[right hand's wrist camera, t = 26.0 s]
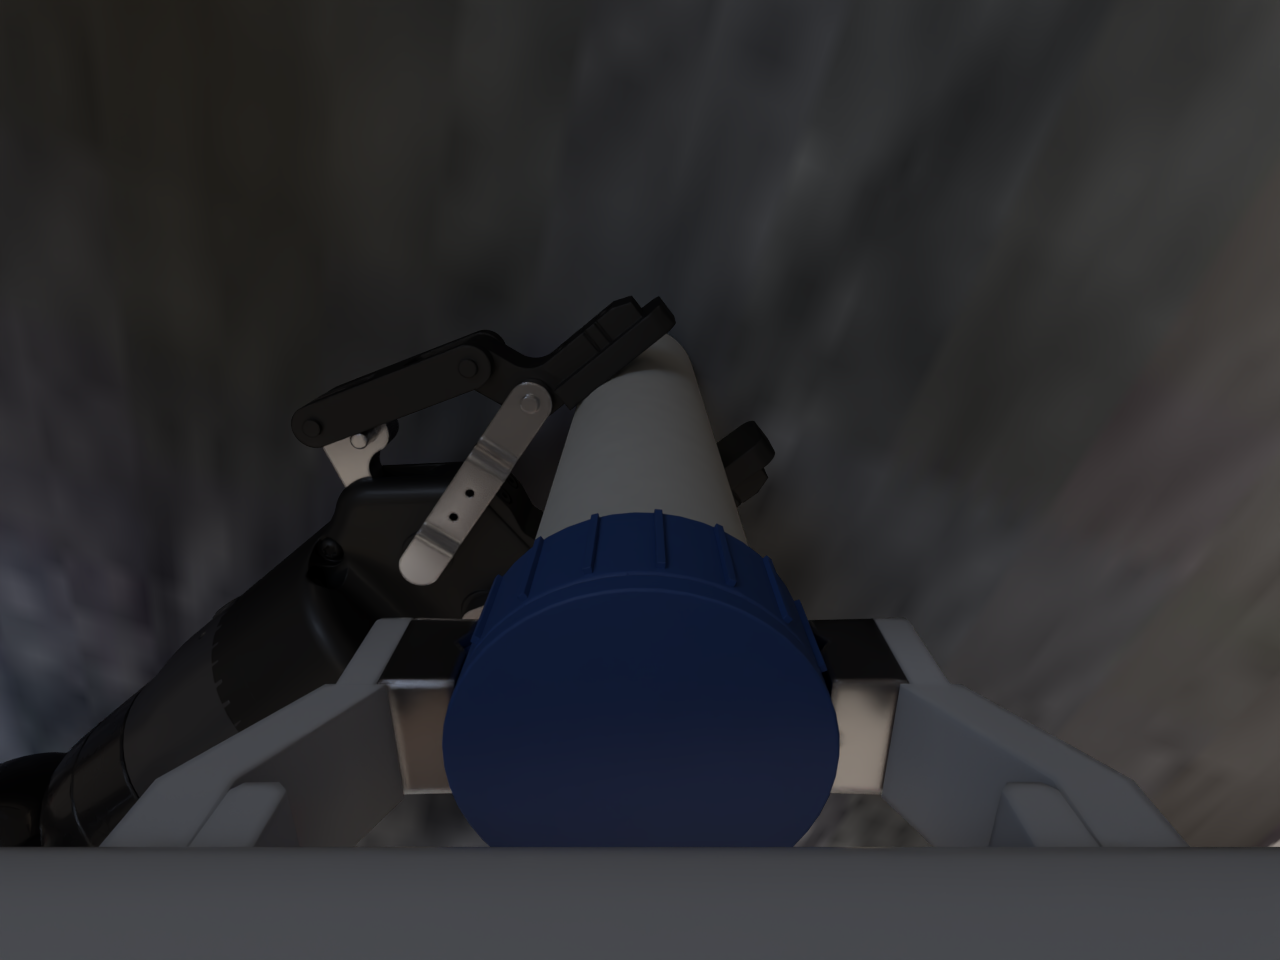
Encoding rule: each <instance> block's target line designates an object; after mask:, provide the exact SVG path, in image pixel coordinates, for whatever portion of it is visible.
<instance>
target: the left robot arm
mask: <svg viewBox="0 0 1280 960" xmlns="http://www.w3.org/2000/svg"><path fill="white" fill-rule="evenodd" d="M675 324H676V321H675V318H674V315H673V314H672V313H671V311H670V310H669V309H668V307H667V306H666V305H665V303H664V302H663V301H662V300H661V298H660V297H656V298H655V299H653V300H652V301H650V302H649V303H648V304H647V305H645V306H644V307H643V308H641V307H640V306H639V304H638V303H637V302H636V301H635V299H634V298H633V297H632V296H629V297H626V298H622V299H619V300H616V301H613V302H612V303H611V304H610V305H609V306H607V307H606V308H605V309H604V310H602V311H601V312H600V313H599V314H598V315H596V316H595V317H594V318H593V319H592V320H590V321H589V322H588V323H587V324H586V325H584V326H583V327H582V328H581V329H580V330H578V331H577V332H576V333H575V334H573V335H572V336H571V337H570V338H569V339H567V340H566V341H565V342H564V343H563V344H561V345H560V346H559V347H558V348H557V349H555V350H554V351H553V352H552V353H550V354H549V355H547V356H544V357H540V358H532V357H527V356H524V355H522V354H521V353H519V352H517V351H515V350H514V349H512V348H510V347H509V346H507V345H505V342H504V340H503V339H502V338H501V337H500V336H499V335H498V334H497V333H495V332H493V331H490V330H481V331H477V332H475V333H472V334H470V335H467V336H465V337H462V338H459V339H457V340H454V341H452V342H449V343H447V344H444V345H442V346H439V347H436V348H434V349H431V350H429V351H426V352H424V353H421V354H418V355H416V356H413V357H411V358H408V359H406V360H403V361H401V362H398V363H395V364H393V365H390V366H388V367H385V368H383V369H380V370H378V371H375V372H372V373H370V374H367V375H365V376H362V377H360V378H357V379H354V380H352V381H349V382H347V383H344V384H342V385H339V386H337V387H335V388H333V389H331V390H330V391H328V392H326V393H325V394H323V395H321V396H319V397H318V398H316V399H315V400H313V401H311V402H310V403H308V404H307V405H305V406H303V407H302V408H300V409H299V410H297V411H296V412H295V413H294V415H293V417H292V420H291V427H292V431H293V433H294V435H295V436H296V438H297V439H298V440H299V441H300V442H301V443H303V444H305V445H306V446H309V447H313V448H321V447H323V449H324V451H325V453H326V454H327V456H328V458H329V460H330V461H331V463H332V465H333V467H334V468H335V470H336V472H337V474H338V475H339V477H340V479H341V481H342V482H343V484H344V486H345V489H344V490H343V492H342V493H341V495H340V496H339V499H338V501H337V505H336V509H335V513H334V515H333V517H332V519H331V521H330V522H329V523H327V524H326V525H325V526H324V527H323V528H322V529H320V530H319V531H318V532H317V533H316V534H314V535H313V536H312V537H311V538H310V539H308V540H307V541H306V542H305V543H304V544H302V545H301V546H300V547H299V548H298V549H296V550H295V551H294V552H293V553H292V554H290V555H289V556H288V557H287V558H286V559H284V560H283V561H282V562H281V563H280V564H279V565H277V566H276V567H275V568H274V569H273V570H271V571H270V572H269V573H268V574H267V575H265V576H264V577H263V578H262V579H260V580H259V581H258V582H257V583H256V584H254V585H253V586H252V587H251V588H250V589H249V590H247V591H246V592H245V593H244V594H243V595H241V596H240V597H238V598H236V599H234V600H232V601H231V602H229V603H228V604H226V605H225V606H223V607H222V608H221V609H219V610H218V611H217V612H216V615H215V616H214V617H213V619H212V620H211V621H210V622H209V623H208V624H207V625H205V626H204V627H203V628H202V629H200V630H199V631H198V632H197V633H196V634H194V635H193V636H192V637H191V638H190V639H189V640H188V641H187V642H186V643H185V644H183V645H182V647H181V648H180V649H179V650H178V651H177V652H176V653H175V654H174V655H173V656H172V657H171V658H170V659H169V661H168V662H167V663H166V664H165V665H164V667H163V668H162V669H161V670H160V671H159V673H158V674H157V675H156V676H155V677H154V678H153V679H152V680H151V681H150V682H148V683H147V684H146V685H145V686H144V687H142V688H141V689H140V690H139V691H138V692H136V693H135V694H134V695H133V696H131V697H130V698H129V699H128V700H127V701H125V702H124V703H123V704H122V705H121V706H119V707H118V708H117V709H116V710H115V711H113V712H112V713H111V714H110V715H109V716H107V717H106V718H105V719H104V720H103V721H102V722H100V723H99V724H98V725H97V726H96V727H95V728H93V729H92V730H91V731H90V732H89V733H87V734H86V735H85V736H84V737H83V738H82V739H80V740H79V741H78V742H77V743H76V744H75V745H74V746H73V747H72V749H71V750H70V751H69V752H68V753H61V752H49V753H39V754H33V755H27V756H23V757H19V758H16V759H12V760H10V761H7V762H4V763H1V764H0V847H99V846H100V845H101V843H102V842H103V841H104V840H105V839H106V838H107V836H108V835H109V834H110V833H111V832H112V830H113V829H114V828H115V827H116V826H117V824H118V823H119V822H120V821H121V820H122V819H123V817H124V816H125V815H126V814H127V813H128V811H129V810H130V809H131V808H132V807H133V806H134V804H135V803H136V802H137V801H138V800H139V798H140V797H141V796H142V795H143V794H144V792H145V791H146V790H147V789H148V788H149V787H150V785H151V784H152V783H153V782H154V781H155V779H157V778H159V777H161V776H162V775H164V774H166V773H168V772H170V771H171V770H173V769H175V768H177V767H178V766H180V765H182V764H184V763H186V762H187V761H189V760H191V759H193V758H194V757H196V756H198V755H200V754H202V753H203V752H205V751H207V750H209V749H211V748H212V747H214V746H216V745H218V744H219V743H221V742H223V741H225V740H227V739H228V738H230V737H232V736H234V735H235V734H237V733H239V732H241V731H243V730H244V729H246V728H248V727H250V726H251V725H253V724H255V723H257V722H259V721H260V720H262V719H264V718H266V717H268V716H269V715H271V714H273V713H275V712H276V711H278V710H280V709H282V708H284V707H285V706H287V705H289V704H291V703H292V702H294V701H296V700H298V699H300V698H301V697H303V696H305V695H307V694H309V693H310V692H312V691H314V690H316V689H317V688H319V687H321V686H323V685H325V684H336V683H337V681H338V680H339V678H340V676H341V675H342V673H343V672H344V670H345V669H346V667H347V665H348V664H349V662H350V661H351V659H352V658H353V656H354V654H355V653H356V651H357V650H358V648H359V647H360V645H361V643H362V642H363V640H364V639H365V637H366V636H367V634H368V632H369V631H370V629H371V628H372V626H373V625H374V623H375V622H376V621H377V620H379V619H381V618H414V619H415V618H441V619H479V617H480V615H481V612H482V610H483V607H484V605H485V602H486V599H487V597H488V594H489V592H490V589H491V587H492V584H493V582H494V579H495V578H496V576H497V575H498V574H499V575H501V576H502V577H503V576H504V575H505V573H506V572H507V571H508V570H509V569H510V567H511V566H512V565H513V564H514V563H515V562H516V561H517V560H518V559H519V558H520V557H521V556H523V555H524V554H525V553H526V552H527V551H528V550H529V549H530V548H532V547H533V545H534V541H535V538H536V535H537V532H538V529H539V526H540V522H541V519H542V516H543V513H544V512H542V511H541V510H539V509H538V508H536V507H535V506H533V505H532V503H531V501H530V500H529V498H528V496H527V494H526V492H525V490H524V488H523V487H522V485H521V483H520V482H519V481H518V480H517V479H516V478H515V477H514V476H513V475H512V474H511V471H512V469H513V467H514V466H515V464H516V462H517V461H518V459H519V458H520V457H521V455H522V454H523V452H524V451H525V449H526V448H527V446H528V445H529V444H530V442H531V441H532V439H533V438H534V436H535V435H536V434H537V432H538V431H539V429H540V428H541V426H542V425H543V423H544V422H545V421H546V419H547V418H548V417H549V416H550V415H551V414H552V413H554V412H555V411H556V410H557V409H559V408H560V407H561V406H562V405H564V404H565V405H566V406H567V407H568V408H569V409H570V410H571V409H572V408H574V407H575V406H576V405H577V404H579V403H580V402H581V401H582V400H584V399H585V398H586V397H588V396H589V395H590V394H591V393H592V392H593V391H594V390H596V389H597V388H598V387H600V386H601V385H603V384H604V383H605V382H606V381H608V380H609V379H610V378H611V377H613V376H614V375H615V374H616V373H618V372H619V371H620V370H621V369H623V368H624V367H625V366H626V365H628V364H629V363H630V362H631V361H633V360H634V359H635V358H636V357H638V356H639V355H640V354H641V353H643V352H644V351H645V350H646V349H648V348H649V347H650V346H652V345H653V344H654V343H655V342H657V341H658V340H659V339H660V338H662V337H663V336H664V335H665V334H666V333H667V332H669V331H670V330H671V329H672V328H673V326H674V325H675ZM472 390H476V391H478V392H479V393H481V394H483V395H485V396H486V397H488V398H490V399H492V400H493V401H495V402H497V403H499V404H501V405H502V406H501V408H500V409H499V411H498V412H497V414H496V415H495V417H494V418H493V420H492V421H491V423H490V424H489V426H488V427H487V429H486V430H485V432H484V433H483V435H482V436H481V438H480V439H479V441H478V442H477V444H476V445H475V447H474V448H473V450H472V451H471V453H470V454H469V456H468V457H467V459H466V460H465V462H448V463H426V464H403V465H381V462H380V451H381V450H382V449H383V448H384V447H385V446H386V445H387V444H388V443H389V442H390V441H391V440H392V439H394V438H395V436H396V435H397V433H398V430H399V423H398V420H397V419H398V418H401V417H403V416H406V415H409V414H411V413H414V412H417V411H419V410H422V409H425V408H427V407H430V406H432V405H435V404H438V403H440V402H443V401H446V400H448V399H451V398H454V397H456V396H459V395H461V394H464V393H467V392H469V391H472ZM717 447H718V450H719V454H720V457H721V460H722V463H723V466H724V470H725V473H726V476H727V479H728V482H729V485H730V489H731V492H732V495H733V498H734V501H735V505H736V507H738V506H739V505H740V504H741V503H742V502H745V501H746V500H748V499H749V498H751V497H752V496H753V495H755V494H756V493H758V492H759V490H760V489H761V487H762V486H763V484H764V483H765V481H766V480H767V478H768V476H767V474H766V472H765V470H764V467H765V466H766V465H767V464H768V463H769V462H770V461H771V460H772V459H773V457H774V455H775V451H774V449H773V447H772V446H771V444H770V442H769V440H768V438H767V437H766V436H765V434H764V433H763V432H762V430H761V429H760V428H759V427H758V425H757V424H756V423H755V421H749V422H746V423H745V424H743V425H741V426H740V427H738V428H737V429H736V430H734V431H733V432H732V433H730V434H729V435H727V436H726V437H725V438H723V439H722V440H721V441H719V442H718V443H717Z"/></svg>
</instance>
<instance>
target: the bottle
mask: <svg viewBox="0 0 1280 960" xmlns="http://www.w3.org/2000/svg"><path fill="white" fill-rule="evenodd" d="M655 509H662V511H663V514H668V515H675V516H681V517H685V518H688V519H692V520H696V521H699V522H703V523H705V524H708V525H710V526H712V527H715V525H716V523H717V524H719V525H721V526H723V528H724V532H726V533H728V534H729V535H731V536H733V537H735V538H736V539H738V540H740V541H742V542H743V543H745V544H746V545H747V546H748V543H747V540H746V537H745V533H744V530H743V527H742V524H741V521H740V517H739V514H738V511H737V508H736V505H735V501H734V498H733V495H732V492H731V489H730V485H729V482H728V479H727V476H726V473H725V470H724V466H723V463H722V460H721V457H720V454H719V450H718V447H717V444H716V441H715V438H714V434H713V431H712V428H711V425H710V422H709V419H708V415H707V412H706V409H705V406H704V403H703V399H702V396H701V393H700V390H699V387H698V383H697V380H696V377H695V374H694V371H693V367H692V364H691V361H690V359H689V357H688V355H687V353H686V351H685V350H684V349H683V347H682V346H681V345H680V344H679V343H678V342H677V341H676V340H675V339H674V338H672V337H671V336H670V335H668V334H665V335H664V336H663V337H662V338H660V339H659V340H658V341H657V342H655V343H654V344H653V345H652V346H650V347H649V348H648V349H646V350H645V351H644V352H643V353H641V354H640V355H639V356H638V357H636V358H635V359H634V360H633V361H631V362H630V363H629V364H628V365H626V366H625V367H624V368H623V369H621V370H620V371H619V372H618V373H616V374H615V375H614V376H613V377H611V378H610V379H609V380H608V381H606V382H605V383H604V384H603V385H601V386H600V387H598V388H597V389H596V390H594V391H593V392H592V393H591V394H590V395H589V396H588V397H586V398H585V399H584V400H582V401H581V402H580V403H579V404H577V407H576V410H575V413H574V417H573V420H572V423H571V426H570V429H569V433H568V436H567V439H566V442H565V446H564V449H563V452H562V455H561V458H560V462H559V465H558V468H557V471H556V474H555V478H554V481H553V484H552V487H551V490H550V494H549V497H548V500H547V503H546V506H545V510H544V513H543V516H542V519H541V522H540V526H539V529H538V532H537V535H536V538H535V539H537V538H538V537H540V536H541V537H542V538H543V539H545V538H547V537H548V536H550V535H552V534H554V533H556V532H558V531H560V530H562V529H564V528H566V527H569V526H572V525H575V524H577V523H580V522H583V521H586V520H589V519H591V515H592V514H596V513H598V514H599V516H600V517H602V516H607V515H612V514H622V513H630V512H643V513H654V510H655ZM748 547H749V546H748Z"/></svg>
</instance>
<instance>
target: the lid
mask: <svg viewBox="0 0 1280 960" xmlns="http://www.w3.org/2000/svg"><path fill="white" fill-rule="evenodd" d="M470 642H472V644H471V645H470V646H468V647H466V648H465V649H464V650H465V651H466V660H465V662H464V665H463V667H462V670H461V673H460V675H459V678H458V680H457V684H456V686H455V688H454V691H453V693H452V696H451V699H450V701H449V704H448V708H447V712H446V716H445V720H444V724H443V738H442V750H443V761H444V768H445V772H446V775H447V779H448V783H449V787H450V789H451V791H452V794H453V796H454V798H455V801H456V803H457V805H458V807H459V809H460V810H461V812H462V813H463V815H464V816H465V818H466V820H467V821H468V823H469V824H470V825H471V827H472V828H473V829H474V830H475V831H476V833H477V834H478V835H479V836H480V837H481V839H482V840H483V841H484V842H486V843H487V844H488V845H489V846H490V847H793V846H794V845H795V844H796V843H797V842H798V841H799V840H800V839H801V838H802V837H803V836H804V835H805V833H806V832H807V831H808V830H809V829H810V827H811V826H812V824H813V823H814V822H815V820H816V819H817V817H818V816H819V815H820V813H821V811H822V809H823V807H824V805H825V803H826V801H827V799H828V797H829V795H830V792H831V789H832V786H833V784H834V781H835V778H836V773H837V767H838V761H839V755H840V733H839V727H838V721H837V715H836V711H835V708H834V706H833V703H832V700H831V697H830V694H829V691H828V689H827V686H826V683H825V681H824V678H823V676H822V672H825V671H827V667H826V665H825V662H824V660H823V657H822V655H821V652H820V650H819V647H818V645H817V642H816V640H815V637H814V635H813V632H812V629H811V627H810V624H809V622H808V619H807V617H806V614H805V612H804V609H803V607H802V604H801V602H800V600H796V601H794V600H793V598H792V596H791V595H790V593H789V591H788V589H787V587H786V585H785V584H784V583H783V581H782V580H781V578H780V577H779V576H778V574H777V573H776V571H775V568H774V565H773V563H772V560H771V559H770V558H769V557H768V556H765V557H764V558H762V557H761V556H760V555H759V554H758V553H756V552H755V551H754V550H752V549H751V548H750V547H748V546H747V545H746V544H745V543H743V542H742V541H740V540H738V539H736V538H735V537H733V536H731V535H729V534H728V533H726V532H724V528H723V526H721V525H719V524H717V523H716V525H715V527H712V526H710V525H708V524H705V523H703V522H699V521H696V520H692V519H688V518H685V517H681V516H675V515H668V514H663V511H662V509H655V510H654V513H643V512H630V513H622V514H612V515H607V516H602V517H600V516H599V514H598V513H596V514H592V515H591V519H589V520H586V521H583V522H580V523H577V524H575V525H572V526H569V527H566V528H564V529H562V530H560V531H558V532H556V533H554V534H552V535H550V536H548V537H547V538H545V539H543V538H542V537H541V536H540V537H538V538H537V539H535V541H534V545H533V547H532V548H530V549H529V550H528V551H527V552H526V553H525V554H524V555H523V556H521V557H520V558H519V559H518V560H517V561H516V562H515V563H514V564H513V565H512V566H511V567H510V569H509V570H508V571H507V572H506V573H505V575H504V576H503V577H502V576H501V575H499V574H498V575H497V576H496V578H495V579H494V582H493V584H492V587H491V589H490V592H489V594H488V597H487V599H486V602H485V605H484V607H483V610H482V612H481V615H480V617H479V620H478V622H477V625H476V628H475V630H474V633H473V635H472V638H471V640H470Z"/></svg>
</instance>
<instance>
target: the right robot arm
mask: <svg viewBox="0 0 1280 960" xmlns="http://www.w3.org/2000/svg"><path fill="white" fill-rule="evenodd" d="M478 620H479V619H441V618H415V619H414V618H381V619H379V620H377V621H376V622H375V623H374V625H373V626H372V628H371V629H370V631H369V632H368V634H367V636H366V637H365V639H364V640H363V642H362V643H361V645H360V647H359V648H358V650H357V651H356V653H355V654H354V656H353V658H352V659H351V661H350V662H349V664H348V665H347V667H346V669H345V670H344V672H343V673H342V675H341V676H340V678H339V680H338V681H337V683H336V684H325V685H323V686H321V687H319V688H317V689H316V690H314V691H312V692H310V693H309V694H307V695H305V696H303V697H301V698H300V699H298V700H296V701H294V702H292V703H291V704H289V705H287V706H285V707H284V708H282V709H280V710H278V711H276V712H275V713H273V714H271V715H269V716H268V717H266V718H264V719H262V720H260V721H259V722H257V723H255V724H253V725H251V726H250V727H248V728H246V729H244V730H243V731H241V732H239V733H237V734H235V735H234V736H232V737H230V738H228V739H227V740H225V741H223V742H221V743H219V744H218V745H216V746H214V747H212V748H211V749H209V750H207V751H205V752H203V753H202V754H200V755H198V756H196V757H194V758H193V759H191V760H189V761H187V762H186V763H184V764H182V765H180V766H178V767H177V768H175V769H173V770H171V771H170V772H168V773H166V774H164V775H162V776H161V777H159V778H157V779H155V781H154V782H153V783H152V784H151V785H150V787H149V788H148V789H147V790H146V791H145V792H144V794H143V795H142V796H141V797H140V798H139V800H138V801H137V802H136V803H135V804H134V806H133V807H132V808H131V809H130V810H129V811H128V813H127V814H126V815H125V816H124V817H123V819H122V820H121V821H120V822H119V823H118V824H117V826H116V827H115V828H114V829H113V830H112V832H111V833H110V834H109V835H108V836H107V838H106V839H105V840H104V841H103V842H102V843H101V845H100V846H99V847H0V960H1280V847H1190V846H1189V845H1188V844H1187V843H1186V842H1185V840H1184V839H1183V838H1182V837H1181V836H1180V834H1179V833H1178V832H1177V831H1176V830H1175V829H1174V827H1173V826H1172V825H1171V824H1170V823H1169V822H1168V820H1167V819H1166V818H1165V817H1164V816H1163V814H1162V813H1161V812H1160V811H1159V810H1158V809H1157V807H1156V806H1155V805H1154V804H1153V803H1152V802H1151V800H1150V799H1149V798H1148V797H1147V796H1146V795H1145V793H1144V792H1143V791H1142V790H1141V789H1140V787H1139V786H1138V785H1137V784H1136V783H1135V782H1134V780H1132V779H1130V778H1128V777H1127V776H1125V775H1123V774H1121V773H1119V772H1118V771H1116V770H1114V769H1112V768H1110V767H1109V766H1107V765H1105V764H1103V763H1101V762H1100V761H1098V760H1096V759H1094V758H1093V757H1091V756H1089V755H1087V754H1085V753H1084V752H1082V751H1080V750H1078V749H1076V748H1075V747H1073V746H1071V745H1069V744H1067V743H1066V742H1064V741H1062V740H1060V739H1058V738H1057V737H1055V736H1053V735H1051V734H1050V733H1048V732H1046V731H1044V730H1042V729H1041V728H1039V727H1037V726H1035V725H1033V724H1032V723H1030V722H1028V721H1026V720H1024V719H1023V718H1021V717H1019V716H1017V715H1016V714H1014V713H1012V712H1010V711H1008V710H1007V709H1005V708H1003V707H1001V706H999V705H998V704H996V703H994V702H992V701H990V700H989V699H987V698H985V697H983V696H981V695H980V694H978V693H976V692H974V691H973V690H971V689H969V688H967V687H965V686H964V685H962V684H950V682H949V681H948V679H947V678H946V676H945V675H944V673H943V672H942V670H941V669H940V667H939V666H938V664H937V663H936V661H935V660H934V658H933V657H932V655H931V653H930V652H929V650H928V649H927V647H926V646H925V644H924V643H923V641H922V640H921V638H920V637H919V635H918V634H917V632H916V631H915V629H914V628H913V626H912V625H911V623H910V622H909V620H907V619H905V618H903V617H898V618H871V619H841V620H808V622H809V624H810V627H811V629H812V632H813V635H814V637H815V640H816V642H817V645H818V647H819V650H820V652H821V655H822V657H823V660H824V662H825V665H826V667H827V671H825V672H822V676H823V678H824V681H825V683H826V686H827V689H828V691H829V694H830V697H831V700H832V703H833V706H834V708H835V711H836V715H837V721H838V727H839V733H840V755H839V761H838V767H837V773H836V778H835V781H834V784H833V786H832V789H831V792H830V793H854V794H882V796H881V797H882V798H883V799H884V800H885V801H886V802H887V803H888V804H889V805H890V806H891V807H892V808H893V809H894V810H895V811H896V812H897V813H898V814H900V815H901V816H902V817H903V818H904V819H905V820H906V821H907V822H908V823H909V824H910V825H911V826H912V827H913V828H914V829H915V830H916V831H917V832H918V833H919V834H920V835H921V836H922V837H923V838H924V839H926V840H927V841H928V842H929V843H930V844H931V845H932V846H933V847H354V846H355V845H356V844H357V843H358V842H359V841H360V840H361V839H362V838H363V837H364V836H365V835H366V834H367V833H368V832H369V831H370V830H371V829H372V828H373V827H374V826H375V825H377V824H378V823H379V822H380V821H381V820H382V819H383V818H384V817H385V816H386V815H387V814H388V813H389V812H390V811H391V810H392V809H393V808H394V807H395V806H396V805H397V804H398V803H399V802H400V801H401V800H402V799H403V798H404V794H431V793H452V791H451V789H450V787H449V783H448V779H447V775H446V772H445V768H444V761H443V750H442V738H443V724H444V720H445V716H446V712H447V708H448V704H449V701H450V699H451V696H452V693H453V691H454V688H455V686H456V684H457V680H458V678H459V675H460V673H461V670H462V667H463V665H464V662H465V660H466V651H465V650H464V649H465V648H466V647H468V646H470V645H471V644H472V642H470V640H471V638H472V635H473V633H474V630H475V628H476V625H477V622H478Z"/></svg>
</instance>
